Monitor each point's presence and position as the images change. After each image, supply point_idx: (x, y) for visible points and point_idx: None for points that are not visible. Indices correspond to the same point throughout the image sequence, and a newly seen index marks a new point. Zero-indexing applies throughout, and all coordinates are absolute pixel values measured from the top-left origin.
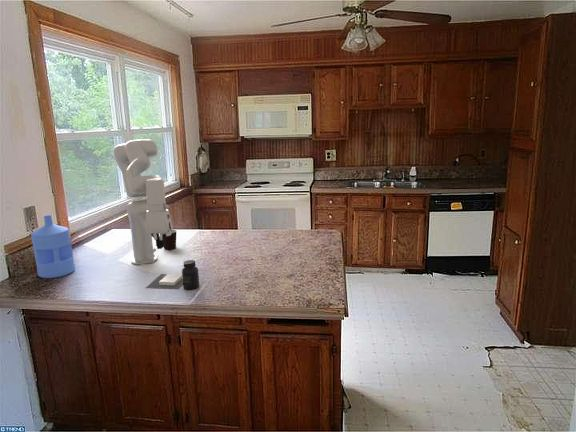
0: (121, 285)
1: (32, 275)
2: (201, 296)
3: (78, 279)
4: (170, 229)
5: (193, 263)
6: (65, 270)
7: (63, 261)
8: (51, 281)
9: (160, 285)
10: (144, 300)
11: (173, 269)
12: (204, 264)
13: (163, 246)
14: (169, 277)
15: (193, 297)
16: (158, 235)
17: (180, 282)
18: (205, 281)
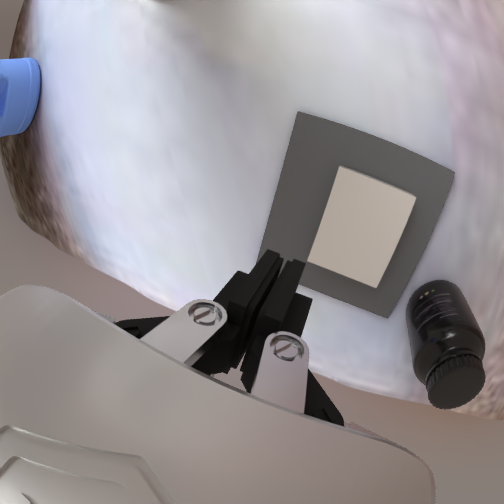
0: (163, 200)
1: None
2: None
3: (58, 135)
4: (412, 469)
5: (468, 398)
6: (26, 112)
7: (5, 115)
8: (30, 147)
9: None
10: None
11: (346, 46)
12: (486, 36)
13: (304, 267)
14: (352, 221)
15: None
16: (201, 350)
17: (401, 252)
18: (493, 255)
